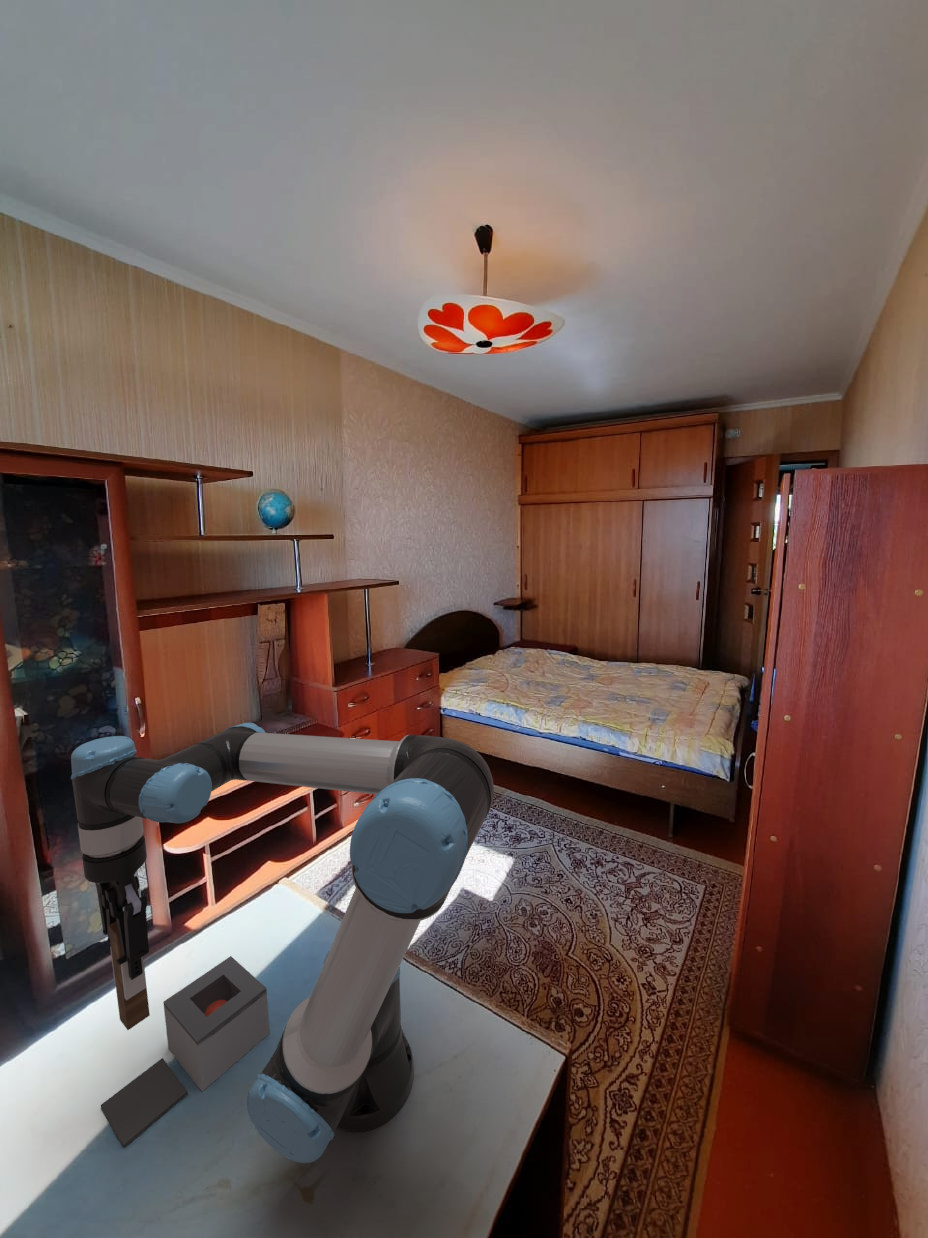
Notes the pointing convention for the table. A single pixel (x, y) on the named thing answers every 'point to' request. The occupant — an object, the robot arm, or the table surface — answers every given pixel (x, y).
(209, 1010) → the red ball
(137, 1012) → the wooden stick
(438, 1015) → the table surface
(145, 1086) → the mat
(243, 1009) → the grey box with opening
